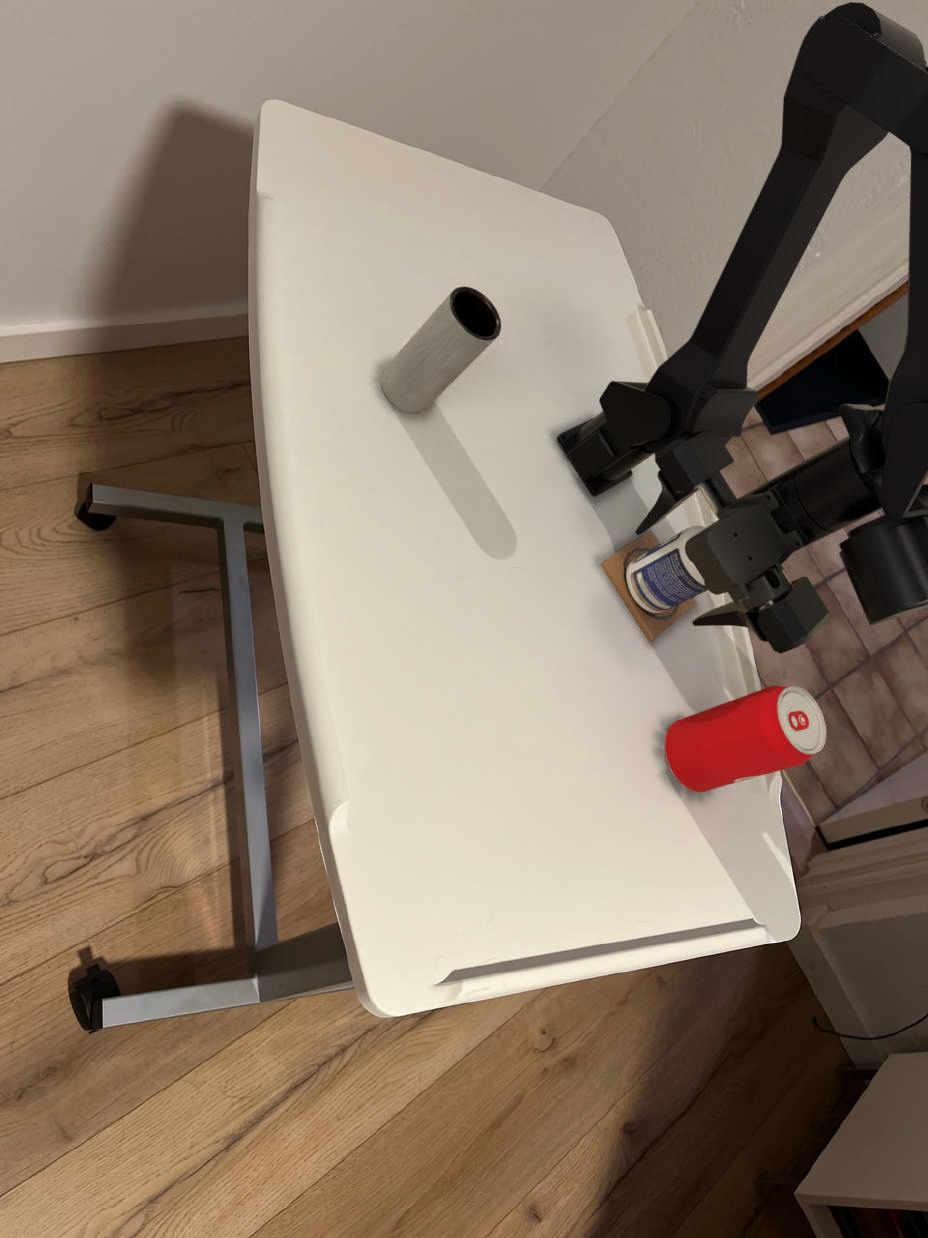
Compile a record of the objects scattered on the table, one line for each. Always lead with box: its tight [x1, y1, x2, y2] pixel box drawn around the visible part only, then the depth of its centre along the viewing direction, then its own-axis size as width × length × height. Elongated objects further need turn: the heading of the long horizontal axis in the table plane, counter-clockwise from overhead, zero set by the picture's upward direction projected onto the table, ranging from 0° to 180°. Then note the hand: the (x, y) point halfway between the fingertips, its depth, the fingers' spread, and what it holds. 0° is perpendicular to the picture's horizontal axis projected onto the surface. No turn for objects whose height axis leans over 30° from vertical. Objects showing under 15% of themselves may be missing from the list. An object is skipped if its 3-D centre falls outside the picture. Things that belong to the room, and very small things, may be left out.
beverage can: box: [664, 685, 827, 793], centre depth 72 cm, size 6×6×12 cm
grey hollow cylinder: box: [380, 286, 502, 414], centre depth 69 cm, size 4×4×10 cm
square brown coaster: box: [600, 530, 697, 642], centre depth 81 cm, size 8×8×1 cm
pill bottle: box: [626, 525, 709, 613], centre depth 77 cm, size 5×5×10 cm
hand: (666, 577), depth 78 cm, fingers open, 9 cm apart
